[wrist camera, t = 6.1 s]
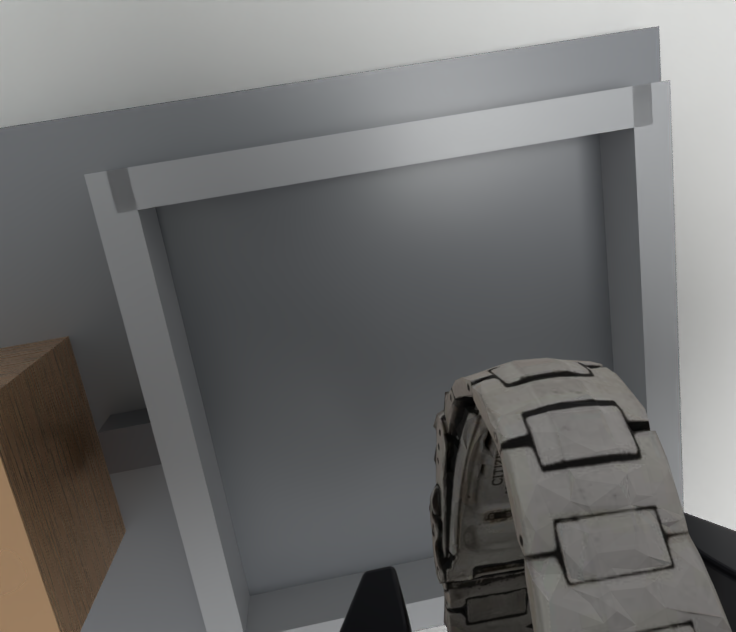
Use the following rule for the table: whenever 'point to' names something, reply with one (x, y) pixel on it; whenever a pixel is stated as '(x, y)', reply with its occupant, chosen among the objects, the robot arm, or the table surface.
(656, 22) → the table surface
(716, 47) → the table surface
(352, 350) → the grey tray
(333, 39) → the table surface
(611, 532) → the wristwatch
